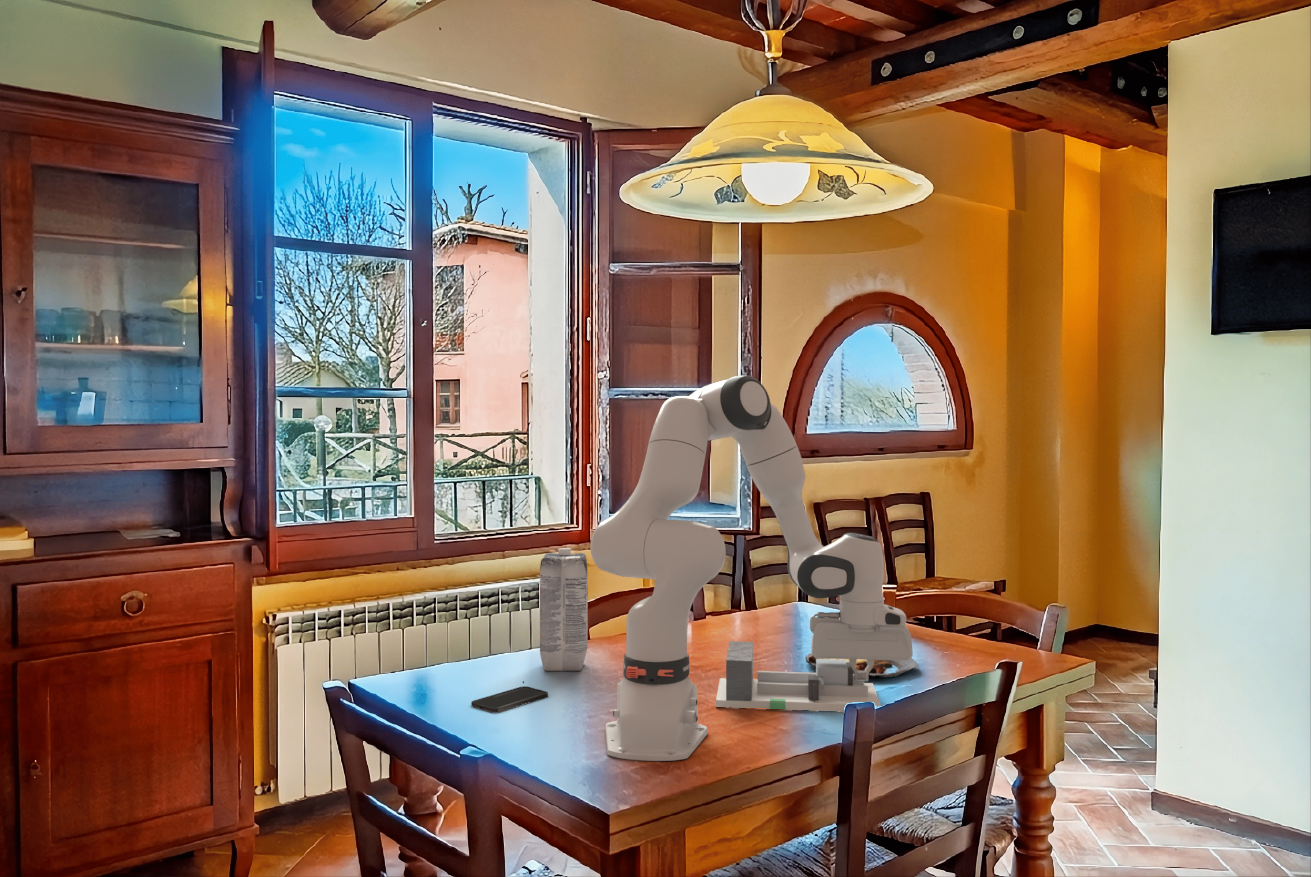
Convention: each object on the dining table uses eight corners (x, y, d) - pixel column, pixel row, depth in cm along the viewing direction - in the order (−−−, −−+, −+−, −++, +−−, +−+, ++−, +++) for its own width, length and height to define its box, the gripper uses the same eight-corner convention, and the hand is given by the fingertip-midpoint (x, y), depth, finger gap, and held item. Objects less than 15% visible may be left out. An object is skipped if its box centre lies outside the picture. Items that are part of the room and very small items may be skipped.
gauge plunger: (854, 701, 195) (855, 676, 195) (818, 700, 196) (818, 674, 196) (849, 683, 208) (850, 660, 208) (815, 682, 209) (816, 658, 208)
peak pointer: (819, 702, 194) (819, 682, 194) (808, 702, 195) (809, 682, 194) (818, 695, 199) (818, 675, 199) (807, 695, 199) (808, 675, 199)
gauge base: (881, 714, 193) (881, 696, 193) (715, 707, 197) (715, 690, 197) (872, 690, 209) (872, 673, 209) (720, 685, 213) (720, 668, 213)
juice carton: (585, 672, 223) (585, 552, 222) (538, 672, 222) (538, 552, 222) (588, 662, 231) (588, 546, 231) (542, 662, 231) (542, 546, 230)
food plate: (865, 688, 210) (866, 672, 210) (784, 667, 228) (784, 652, 228) (936, 672, 226) (936, 656, 226) (854, 653, 244) (855, 639, 244)
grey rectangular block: (751, 701, 196) (751, 661, 196) (726, 700, 197) (726, 660, 196) (752, 679, 212) (753, 641, 212) (729, 678, 213) (729, 641, 212)
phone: (550, 692, 205) (495, 709, 193) (550, 698, 205) (495, 715, 193) (523, 685, 210) (468, 701, 198) (523, 691, 210) (468, 707, 198)
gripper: (810, 615, 201) (810, 682, 202) (914, 617, 199) (913, 686, 200) (809, 608, 208) (809, 674, 208) (909, 611, 205) (909, 677, 206)
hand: (861, 680), depth 204 cm, fingers closed
